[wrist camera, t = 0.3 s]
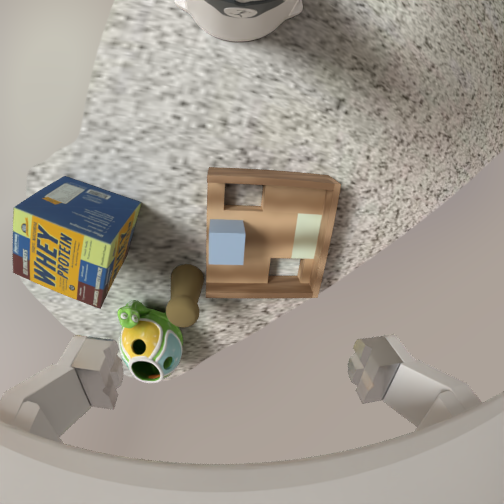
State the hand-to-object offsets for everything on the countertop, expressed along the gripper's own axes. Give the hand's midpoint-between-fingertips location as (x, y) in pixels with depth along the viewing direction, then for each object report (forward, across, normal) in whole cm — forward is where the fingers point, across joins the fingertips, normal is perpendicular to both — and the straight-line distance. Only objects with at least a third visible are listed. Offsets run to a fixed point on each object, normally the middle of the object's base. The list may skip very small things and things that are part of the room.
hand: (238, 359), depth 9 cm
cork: (+40, +6, +17) cm, 44 cm away
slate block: (+37, -1, +8) cm, 38 cm away
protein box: (+39, +22, +5) cm, 45 cm away
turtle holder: (+42, +14, +28) cm, 52 cm away
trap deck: (+39, -7, +8) cm, 41 cm away
